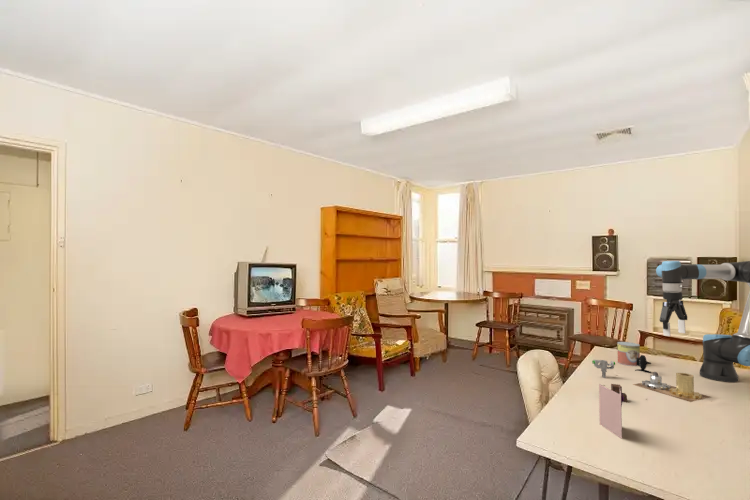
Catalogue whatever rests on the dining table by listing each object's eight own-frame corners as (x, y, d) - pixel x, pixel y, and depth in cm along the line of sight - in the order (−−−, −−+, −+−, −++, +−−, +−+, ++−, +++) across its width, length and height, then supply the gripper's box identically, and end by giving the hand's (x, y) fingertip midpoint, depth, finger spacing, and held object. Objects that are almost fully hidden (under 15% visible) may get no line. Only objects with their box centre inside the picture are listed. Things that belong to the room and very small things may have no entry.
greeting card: (624, 439, 125) (624, 395, 125) (599, 434, 129) (598, 391, 129) (623, 427, 135) (622, 386, 135) (599, 422, 139) (599, 382, 139)
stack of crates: (631, 396, 167) (631, 381, 167) (639, 408, 153) (639, 392, 154) (593, 391, 173) (593, 377, 174) (598, 402, 160) (598, 387, 160)
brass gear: (678, 389, 172) (677, 370, 172) (707, 397, 161) (706, 376, 162) (664, 392, 167) (663, 372, 168) (692, 400, 157) (692, 379, 158)
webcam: (634, 370, 207) (634, 352, 207) (651, 372, 202) (650, 354, 203) (634, 373, 200) (634, 355, 201) (651, 376, 196) (651, 357, 196)
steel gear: (650, 381, 183) (650, 371, 183) (675, 388, 172) (675, 377, 173) (636, 384, 178) (636, 373, 179) (661, 391, 168) (661, 380, 168)
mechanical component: (616, 381, 187) (615, 362, 187) (594, 380, 189) (594, 360, 189) (613, 379, 189) (613, 360, 190) (592, 378, 192) (591, 359, 192)
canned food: (623, 365, 217) (622, 345, 217) (614, 360, 228) (613, 341, 228) (644, 366, 215) (643, 346, 215) (633, 361, 226) (633, 342, 226)
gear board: (652, 383, 184) (652, 366, 184) (711, 400, 162) (711, 381, 162) (632, 387, 178) (632, 370, 178) (690, 405, 156) (690, 385, 156)
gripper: (667, 293, 173) (669, 338, 172) (694, 290, 184) (696, 332, 183) (649, 292, 180) (651, 335, 179) (677, 289, 191) (679, 330, 190)
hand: (674, 334), depth 181 cm, fingers open, 13 cm apart
